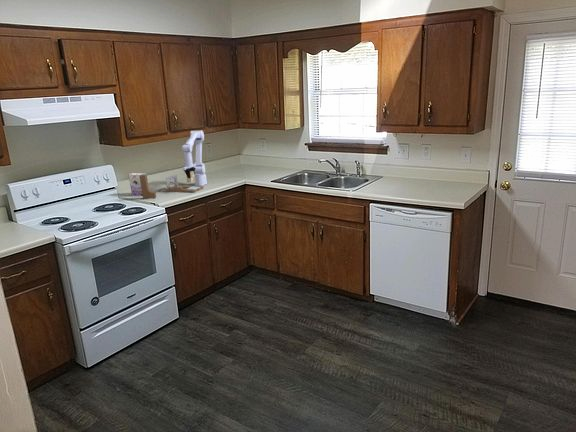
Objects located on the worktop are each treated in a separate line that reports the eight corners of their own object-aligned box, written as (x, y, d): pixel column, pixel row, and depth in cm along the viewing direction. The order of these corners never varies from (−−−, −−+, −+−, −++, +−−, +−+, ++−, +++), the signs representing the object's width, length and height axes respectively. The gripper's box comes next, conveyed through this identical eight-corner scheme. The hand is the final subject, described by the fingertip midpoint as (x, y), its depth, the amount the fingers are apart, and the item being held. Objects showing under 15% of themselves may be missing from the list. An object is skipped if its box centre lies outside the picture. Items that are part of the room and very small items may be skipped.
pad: (191, 187, 359) (191, 186, 359) (200, 187, 356) (200, 187, 356) (186, 189, 352) (185, 189, 352) (194, 189, 349) (194, 189, 349)
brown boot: (156, 196, 341) (152, 173, 336) (155, 198, 337) (151, 174, 332) (144, 197, 341) (140, 174, 335) (143, 199, 336) (139, 175, 331)
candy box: (149, 194, 352) (146, 173, 347) (143, 195, 347) (140, 174, 342) (137, 192, 358) (134, 172, 354) (131, 194, 354) (128, 173, 349)
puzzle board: (175, 187, 369) (175, 185, 369) (203, 188, 359) (203, 186, 359) (164, 191, 357) (164, 189, 356) (193, 192, 347) (193, 190, 346)
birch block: (190, 180, 356) (189, 171, 353) (194, 181, 354) (193, 171, 352) (187, 182, 352) (186, 172, 350) (191, 182, 351) (190, 172, 348)
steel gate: (175, 185, 367) (174, 174, 364) (177, 185, 366) (176, 175, 364) (166, 188, 356) (165, 178, 354) (169, 188, 356) (167, 178, 353)
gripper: (189, 158, 356) (191, 175, 360) (178, 162, 343) (180, 179, 347) (197, 158, 353) (199, 175, 357) (186, 162, 340) (188, 179, 344)
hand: (190, 177), depth 352 cm, fingers closed on birch block, 4 cm apart
